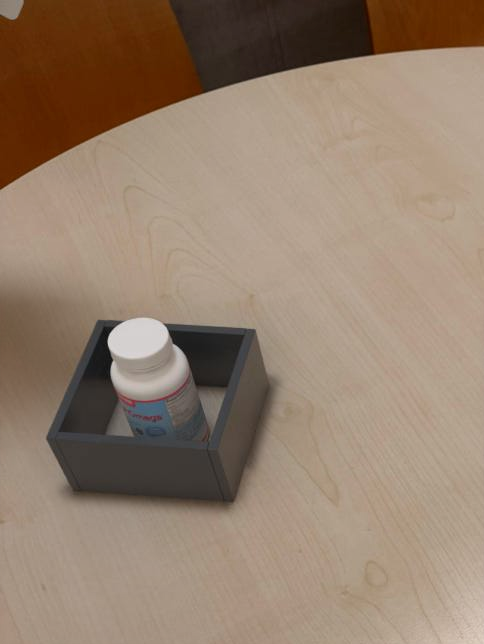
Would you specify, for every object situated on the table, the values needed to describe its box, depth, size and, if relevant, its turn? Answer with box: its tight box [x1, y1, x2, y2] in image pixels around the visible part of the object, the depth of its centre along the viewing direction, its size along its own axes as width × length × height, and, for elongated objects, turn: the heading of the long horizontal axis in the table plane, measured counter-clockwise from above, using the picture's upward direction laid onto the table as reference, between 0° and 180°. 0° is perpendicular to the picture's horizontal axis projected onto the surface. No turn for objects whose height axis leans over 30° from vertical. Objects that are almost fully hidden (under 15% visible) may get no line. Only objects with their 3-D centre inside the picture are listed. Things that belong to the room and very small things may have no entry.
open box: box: [45, 319, 270, 503], centre depth 88 cm, size 14×14×8 cm
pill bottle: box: [108, 317, 210, 442], centre depth 86 cm, size 6×6×11 cm
